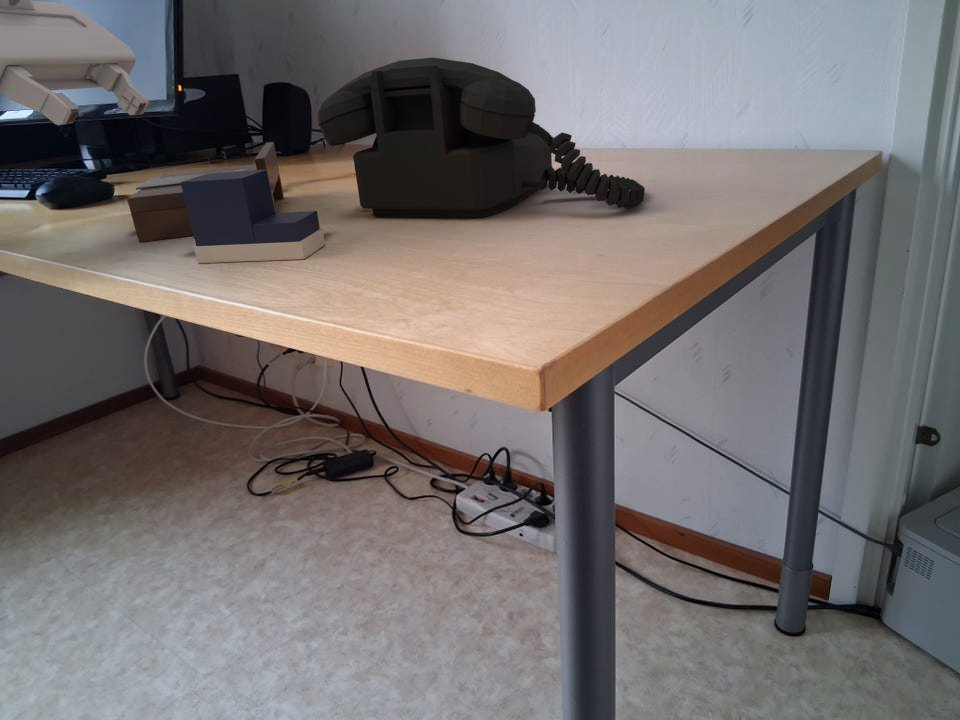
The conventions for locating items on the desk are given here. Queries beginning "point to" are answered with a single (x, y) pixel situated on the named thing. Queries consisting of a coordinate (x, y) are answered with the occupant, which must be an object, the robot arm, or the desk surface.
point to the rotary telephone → (455, 142)
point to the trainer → (246, 220)
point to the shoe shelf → (164, 203)
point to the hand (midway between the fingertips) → (108, 113)
